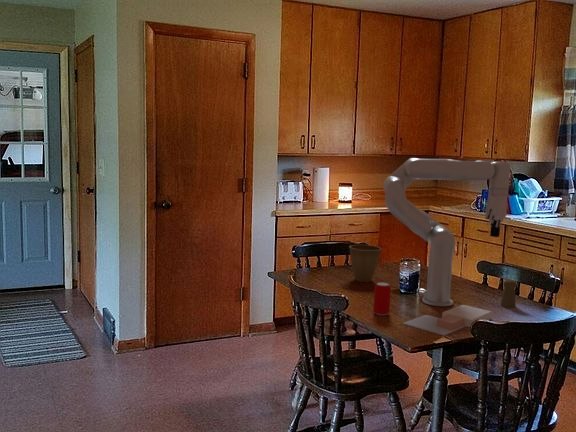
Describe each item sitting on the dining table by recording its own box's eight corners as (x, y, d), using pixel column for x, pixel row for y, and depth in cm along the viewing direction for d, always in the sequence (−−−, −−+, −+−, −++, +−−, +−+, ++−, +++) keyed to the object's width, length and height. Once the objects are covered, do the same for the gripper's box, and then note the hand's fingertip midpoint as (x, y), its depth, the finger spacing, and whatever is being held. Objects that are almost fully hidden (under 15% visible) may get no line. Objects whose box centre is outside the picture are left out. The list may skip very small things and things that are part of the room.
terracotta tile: (436, 326, 223) (437, 319, 223) (448, 321, 230) (449, 314, 229) (451, 330, 219) (452, 323, 219) (463, 324, 226) (464, 318, 225)
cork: (512, 309, 250) (514, 283, 248) (497, 305, 254) (500, 280, 252) (517, 306, 255) (520, 280, 253) (503, 303, 258) (505, 277, 257)
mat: (402, 324, 225) (402, 323, 225) (425, 315, 237) (425, 314, 237) (443, 335, 214) (444, 334, 214) (466, 326, 225) (466, 325, 225)
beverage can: (387, 311, 240) (389, 282, 238) (390, 316, 234) (392, 286, 232) (372, 311, 240) (373, 281, 238) (374, 316, 234) (376, 285, 232)
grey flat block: (441, 319, 232) (442, 312, 232) (462, 311, 244) (462, 304, 243) (471, 327, 224) (471, 319, 223) (490, 319, 235) (491, 311, 235)
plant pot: (371, 286, 279) (373, 251, 277) (342, 280, 287) (344, 247, 285) (384, 279, 292) (386, 246, 289) (356, 274, 299) (357, 242, 297)
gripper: (497, 190, 256) (494, 233, 259) (481, 192, 245) (477, 237, 248) (515, 192, 251) (511, 235, 253) (499, 193, 240) (495, 239, 243)
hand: (494, 236), depth 251 cm, fingers closed
